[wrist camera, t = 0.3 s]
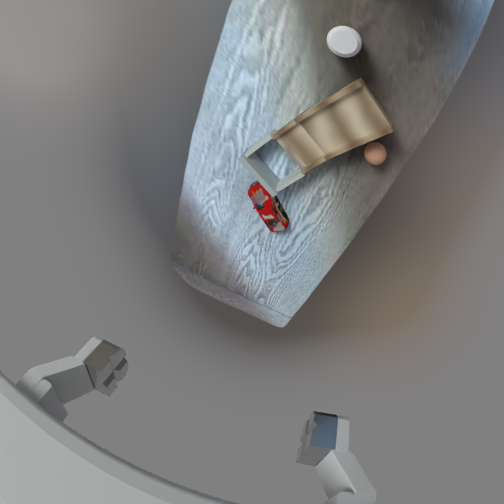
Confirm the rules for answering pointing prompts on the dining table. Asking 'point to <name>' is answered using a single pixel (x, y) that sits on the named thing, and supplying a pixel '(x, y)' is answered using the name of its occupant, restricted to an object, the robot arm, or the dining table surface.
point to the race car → (268, 208)
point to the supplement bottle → (344, 41)
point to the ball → (375, 153)
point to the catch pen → (266, 168)
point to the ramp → (334, 126)
